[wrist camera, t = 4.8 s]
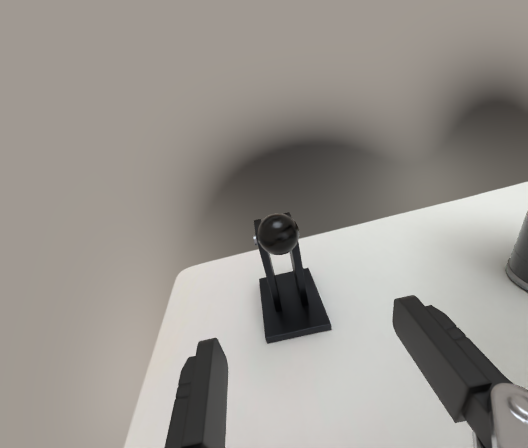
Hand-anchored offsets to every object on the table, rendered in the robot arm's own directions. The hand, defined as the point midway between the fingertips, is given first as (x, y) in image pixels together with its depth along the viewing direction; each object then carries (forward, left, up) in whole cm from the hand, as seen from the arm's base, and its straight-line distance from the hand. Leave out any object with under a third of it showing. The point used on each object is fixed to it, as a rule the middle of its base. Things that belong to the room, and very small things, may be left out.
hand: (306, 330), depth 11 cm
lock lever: (-9, -11, -6) cm, 15 cm away
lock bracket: (-13, -15, -20) cm, 28 cm away
